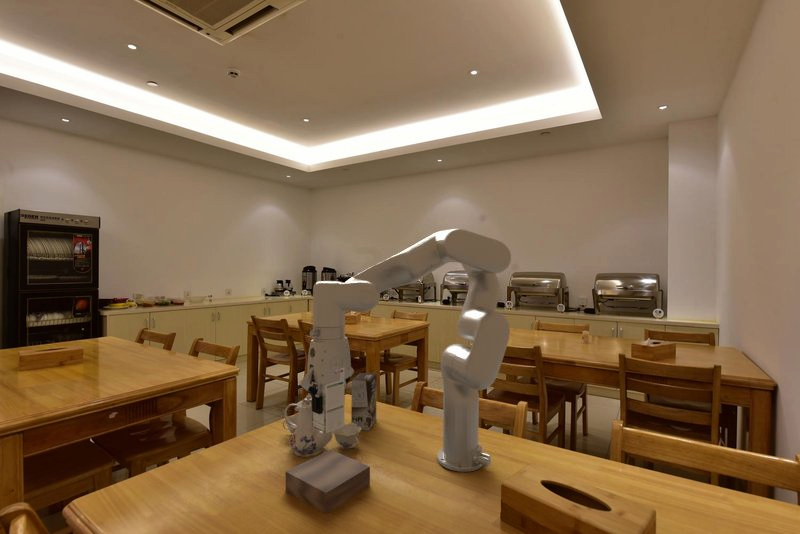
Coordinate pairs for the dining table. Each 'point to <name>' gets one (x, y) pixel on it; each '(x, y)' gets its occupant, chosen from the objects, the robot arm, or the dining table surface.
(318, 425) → the syrup box
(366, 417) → the coffee box
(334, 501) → the walnut block
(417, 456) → the dining table surface
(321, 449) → the chinaware
